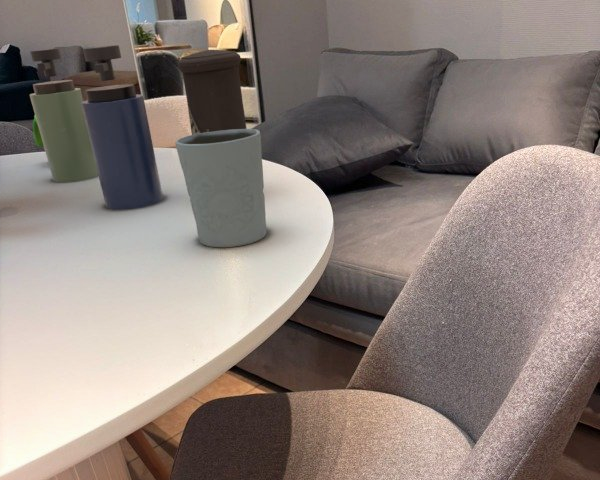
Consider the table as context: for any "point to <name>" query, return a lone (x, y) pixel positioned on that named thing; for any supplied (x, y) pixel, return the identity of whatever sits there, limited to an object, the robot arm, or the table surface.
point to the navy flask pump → (103, 60)
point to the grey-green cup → (225, 185)
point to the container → (213, 91)
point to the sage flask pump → (46, 60)
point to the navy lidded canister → (122, 146)
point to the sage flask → (64, 130)
